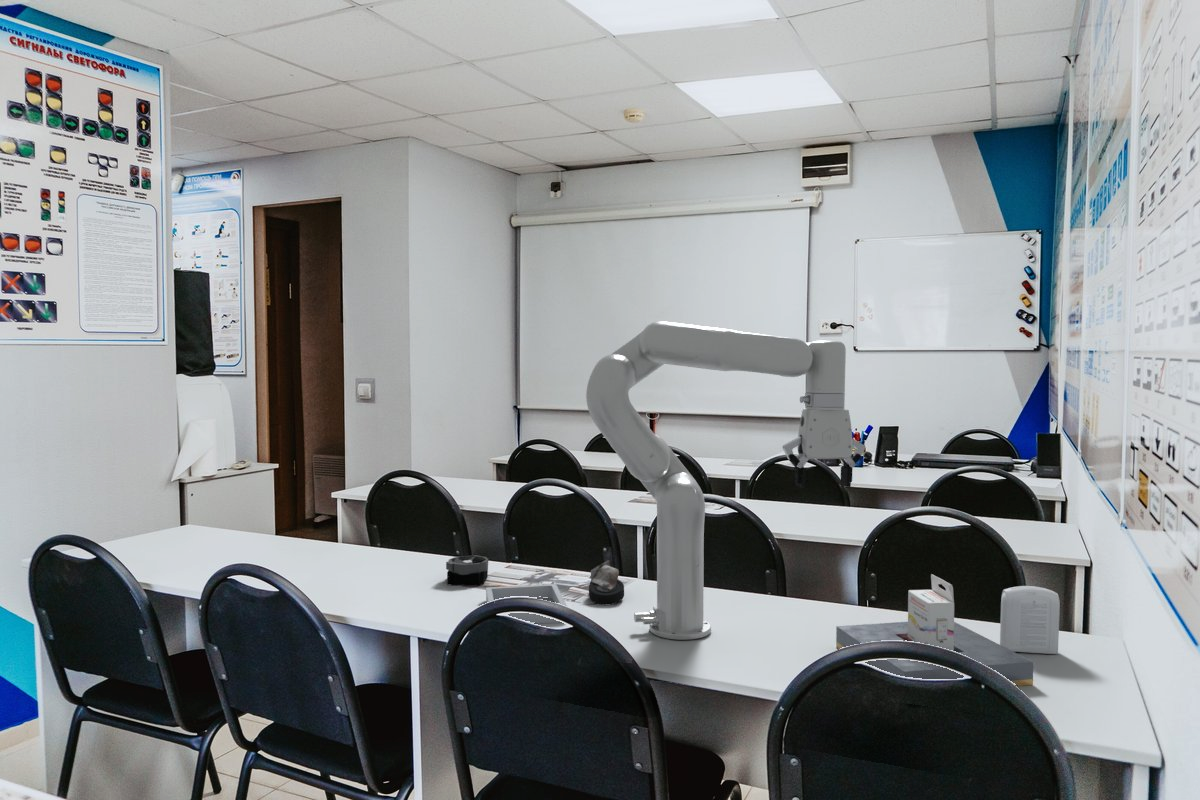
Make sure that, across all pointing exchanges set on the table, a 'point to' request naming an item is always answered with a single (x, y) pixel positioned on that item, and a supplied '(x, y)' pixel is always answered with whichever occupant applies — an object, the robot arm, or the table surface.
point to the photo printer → (1030, 620)
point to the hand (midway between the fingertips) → (823, 486)
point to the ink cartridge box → (932, 615)
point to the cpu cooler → (467, 570)
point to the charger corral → (530, 591)
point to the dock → (964, 643)
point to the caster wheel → (605, 585)
